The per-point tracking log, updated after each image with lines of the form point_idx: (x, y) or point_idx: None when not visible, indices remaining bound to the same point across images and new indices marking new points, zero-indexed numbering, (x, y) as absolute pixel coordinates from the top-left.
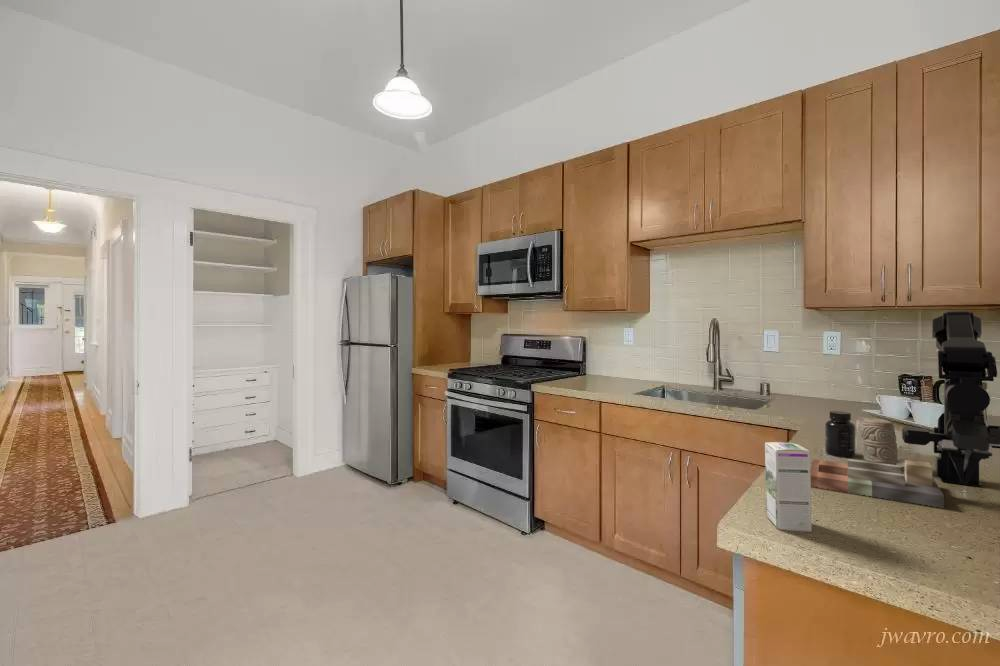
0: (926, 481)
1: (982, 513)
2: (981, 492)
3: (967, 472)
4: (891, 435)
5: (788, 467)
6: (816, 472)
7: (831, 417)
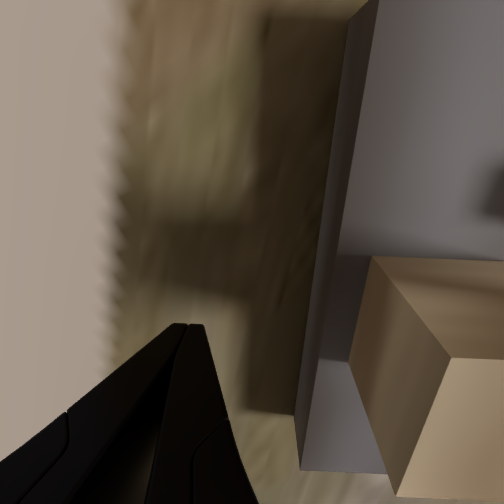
0: (419, 270)
1: (156, 65)
2: None
3: (145, 377)
4: None
5: None
6: None
7: None
